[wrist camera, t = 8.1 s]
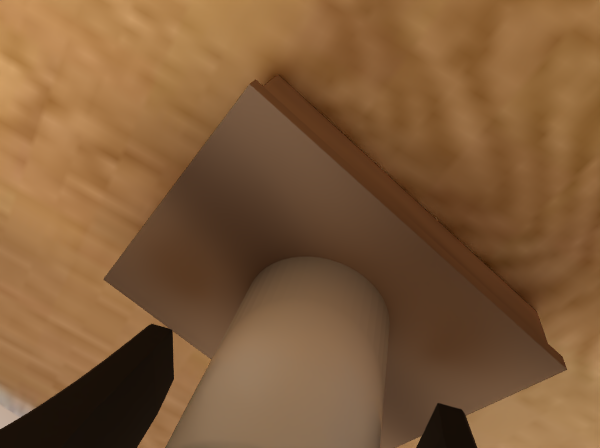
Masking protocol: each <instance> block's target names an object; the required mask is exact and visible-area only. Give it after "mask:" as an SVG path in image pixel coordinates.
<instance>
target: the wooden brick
mask: <svg viewBox="0 0 600 448" xmlns="http://www.w3.org/2000/svg"><path fill="white" fill-rule="evenodd" d="M293 257H319V258H324V259H329V260H332V261H335V262H338V263H341V264H343V265H346V266H348V267H350V268H352V269H353V270H355V271H357V272H358V273H360V274H361V275H362V276H364V277H365V278H366V279H367V280H368V281H369V282H370V283H372V284H373V285H374V287H375V288H376V289H377V290H378V292H379V293H380V295H381V296H382V298H383V300H384V302H385V304H386V306H387V309H388V313H389V321H390V326H389V339H388V351H387V364H386V377H385V390H384V403H383V415H382V428H381V441H380V448H396V447H398V446H400V445H402V444H405V443H407V442H409V441H411V440H413V439H416V438H418V437H420V436H422V435H423V433H424V431H425V428H426V426H427V424H428V422H429V420H430V418H431V416H432V414H433V411H434V409H435V407H436V405H437V403H441V404H444V405H448V406H451V407H455V408H459V409H462V410H463V412H464V413H465V415H468V414H471V413H473V412H475V411H477V410H479V409H482V408H484V407H486V406H488V405H490V404H493V403H495V402H497V401H499V400H501V399H504V398H506V397H508V396H510V395H512V394H515V393H517V392H519V391H521V390H523V389H526V388H528V387H530V386H532V385H534V384H537V383H539V382H541V381H543V380H545V379H548V378H550V377H552V376H554V375H556V374H559V373H561V372H563V371H565V370H567V368H566V365H565V362H564V360H563V357H562V356H561V355H560V354H559V353H558V352H557V351H555V350H554V349H553V348H552V347H551V346H550V345H549V344H548V343H547V340H546V337H545V334H544V331H543V328H542V325H541V322H540V319H539V316H538V314H537V312H536V311H535V310H534V309H533V308H532V307H531V306H530V305H529V304H528V303H527V302H525V301H524V300H523V299H522V298H521V297H520V296H519V295H518V294H517V293H516V292H515V291H513V290H512V289H511V288H510V287H509V286H508V285H507V284H506V283H505V282H504V281H503V280H502V279H500V278H499V277H498V276H497V275H496V274H495V273H494V272H493V271H492V270H491V269H490V268H488V267H487V266H486V265H485V264H484V263H483V262H482V261H481V260H480V259H479V258H478V257H476V256H475V255H474V254H473V253H472V252H471V251H470V250H469V249H468V248H467V247H466V246H464V245H463V244H462V243H461V242H460V241H459V240H458V239H457V238H456V237H455V236H454V235H452V234H451V233H450V232H449V231H448V230H447V229H446V228H445V227H444V226H443V225H442V224H440V223H439V222H438V221H437V220H436V219H435V218H434V217H433V216H432V215H431V214H430V213H428V212H427V211H426V210H425V209H424V208H423V207H422V206H421V205H420V204H419V203H418V202H416V201H415V200H414V199H413V198H412V197H411V196H410V195H409V194H408V193H407V192H406V191H404V190H403V189H402V188H401V187H400V186H399V185H398V184H397V183H396V182H395V181H394V180H393V179H391V178H390V177H389V176H388V175H387V174H386V173H385V172H384V171H383V170H382V169H381V168H379V167H378V166H377V165H376V164H375V163H374V162H373V161H372V160H371V159H370V158H369V157H367V156H366V155H365V154H364V153H363V152H362V151H361V150H360V149H359V148H358V147H357V146H355V145H354V144H353V143H352V142H351V141H350V140H349V139H348V138H347V137H346V136H345V135H343V134H342V133H341V132H340V131H339V130H338V129H337V128H336V127H335V126H334V125H333V124H331V123H330V122H329V121H328V120H327V119H326V118H325V117H324V116H323V115H322V114H321V113H319V112H318V111H317V110H316V109H315V108H314V107H313V106H312V105H311V104H310V103H309V102H307V101H306V100H305V99H304V98H303V97H302V96H301V95H300V94H299V93H298V92H297V91H295V90H294V89H293V88H292V87H291V86H290V85H289V84H288V83H287V82H286V81H285V80H284V79H282V78H281V77H280V76H279V75H277V76H275V77H274V78H273V79H272V80H270V81H269V82H268V83H267V84H265V85H264V86H262V85H261V84H260V83H259V82H258V81H257V80H255V81H253V82H252V83H250V84H249V86H248V87H247V88H246V90H245V91H244V92H243V94H242V95H241V96H240V98H239V99H238V100H237V102H236V103H235V104H234V106H233V107H232V108H231V110H230V111H229V112H228V114H227V115H226V116H225V118H224V119H223V120H222V122H221V123H220V124H219V126H218V127H217V128H216V130H215V131H214V132H213V134H212V135H211V136H210V138H209V139H208V140H207V142H206V143H205V144H204V146H203V147H202V148H201V150H200V151H199V152H198V154H197V155H196V156H195V158H194V159H193V160H192V162H191V163H190V164H189V166H188V167H187V168H186V170H185V171H184V172H183V174H182V175H181V176H180V178H179V179H178V180H177V182H176V183H175V184H174V186H173V187H172V188H171V190H170V191H169V192H168V194H167V195H166V196H165V198H164V199H163V200H162V202H161V203H160V204H159V206H158V207H157V208H156V210H155V211H154V212H153V214H152V215H151V216H150V218H149V219H148V220H147V222H146V223H145V224H144V226H143V227H142V228H141V230H140V231H139V232H138V234H137V235H136V236H135V238H134V239H133V240H132V242H131V243H130V244H129V246H128V247H127V248H126V250H125V251H124V252H123V254H122V255H121V256H120V258H119V259H118V260H117V262H116V263H115V264H114V266H113V267H112V268H111V270H110V271H109V272H108V274H107V275H106V276H105V278H104V280H105V281H106V282H108V283H109V284H110V285H112V286H113V287H114V288H116V289H117V290H118V291H120V292H121V293H122V294H124V295H125V296H126V297H128V298H129V299H131V300H132V301H133V302H135V303H136V304H137V305H139V306H140V307H141V308H143V309H144V310H145V311H147V312H148V313H149V314H151V315H152V316H153V317H155V318H156V319H157V320H159V321H160V322H162V323H163V324H164V325H166V326H167V327H168V328H170V329H172V331H174V332H175V333H176V334H178V335H179V336H180V337H182V338H183V339H184V340H186V341H187V342H188V343H190V344H191V345H193V346H194V347H195V348H197V349H198V350H199V351H201V352H202V353H203V354H205V355H206V356H207V357H209V358H210V359H211V360H212V358H213V356H214V354H215V352H216V350H217V348H218V346H219V344H220V343H221V341H222V339H223V337H224V335H225V333H226V331H227V329H228V327H229V325H230V324H231V322H232V320H233V318H234V316H235V314H236V312H237V310H238V308H239V306H240V304H241V303H242V301H243V299H244V297H245V295H246V293H247V291H248V289H249V287H250V285H251V284H252V282H253V280H254V279H255V277H256V276H257V275H258V274H259V273H260V272H261V271H262V270H264V269H265V268H266V267H268V266H270V265H271V264H273V263H276V262H278V261H281V260H284V259H288V258H293Z"/></svg>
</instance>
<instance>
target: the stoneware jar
mask: <svg viewBox="0 0 600 448" xmlns="http://www.w3.org/2000/svg"><path fill="white" fill-rule="evenodd" d="M389 326H390V321H389V313H388V309H387V306H386V304H385V302H384V300H383V298H382V296H381V295H380V293H379V292H378V290H377V289H376V288H375V287H374V285H373V284H372V283H370V282H369V281H368V280H367V279H366V278H365V277H364V276H362V275H361V274H360V273H358V272H357V271H355V270H353V269H352V268H350V267H348V266H346V265H343V264H341V263H338V262H335V261H332V260H329V259H324V258H319V257H293V258H288V259H284V260H281V261H278V262H276V263H273V264H271V265H270V266H268V267H266V268H265V269H264V270H262V271H261V272H260V273H259V274H258V275H257V276H256V277H255V279H254V280H253V282H252V284H251V285H250V287H249V289H248V291H247V293H246V295H245V297H244V299H243V301H242V303H241V304H240V306H239V308H238V310H237V312H236V314H235V316H234V318H233V320H232V322H231V324H230V325H229V327H228V329H227V331H226V333H225V335H224V337H223V339H222V341H221V343H220V344H219V346H218V348H217V350H216V352H215V354H214V356H213V358H212V360H211V362H210V363H209V365H208V367H207V369H206V371H205V373H204V375H203V377H202V379H201V381H200V383H199V384H198V386H197V388H196V390H195V392H194V394H193V396H192V398H191V400H190V402H189V403H188V405H187V407H186V409H185V411H184V413H183V415H182V417H181V419H180V421H179V423H178V424H177V426H176V428H175V430H174V432H173V434H172V436H171V438H170V440H169V442H168V443H167V445H166V447H165V448H380V441H381V428H382V415H383V403H384V390H385V377H386V364H387V351H388V339H389Z"/></svg>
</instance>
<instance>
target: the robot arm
mask: <svg viewBox="0 0 600 448" xmlns="http://www.w3.org/2000/svg"><path fill="white" fill-rule="evenodd" d="M173 380H174V368H173V333H172V329H168V328H165V327H161V326H158V325H154V324H151V325H149V326H147V327H146V328H145V329H144V330H142V331H141V332H140V333H139V334H137V335H136V336H135V337H134V338H132V339H131V340H130V341H129V342H127V343H126V344H125V345H123V346H122V347H121V348H120V349H118V350H117V351H116V352H114V353H113V354H112V355H111V356H109V357H108V358H107V359H105V360H104V361H103V362H101V363H100V364H99V365H97V366H96V367H94V368H93V369H92V370H90V371H89V372H88V373H86V374H85V375H84V376H82V377H81V378H79V379H78V380H77V381H75V382H74V383H72V384H71V385H69V386H68V387H67V388H65V389H64V390H62V391H61V392H59V393H58V394H56V395H55V396H53V397H52V398H50V399H49V400H47V401H46V402H44V403H43V404H41V405H40V406H38V407H37V408H35V409H33V410H32V411H30V412H29V413H27V414H25V415H24V416H22V417H20V418H19V419H17V420H15V421H14V422H12V423H11V424H9V425H7V426H5V427H4V428H2V429H0V448H137V447H138V445H139V443H140V442H141V440H142V438H143V437H144V435H145V434H146V432H147V430H148V429H149V427H150V425H151V424H152V422H153V420H154V419H155V417H156V415H157V414H158V411H159V409H160V407H161V405H162V403H163V401H164V399H165V397H166V395H167V393H168V391H169V388H170V386H171V384H172V382H173ZM416 448H477V446H476V443H475V440H474V438H473V435H472V432H471V429H470V427H469V424H468V421H467V418H466V415H465V413H464V412H463V410H462V409H459V408H455V407H451V406H448V405H444V404H441V403H437V405H436V407H435V409H434V411H433V414H432V416H431V418H430V420H429V422H428V424H427V426H426V428H425V431H424V433H423V435H422V437H421V439H420V441H419V443H418V445H417V447H416Z"/></svg>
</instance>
